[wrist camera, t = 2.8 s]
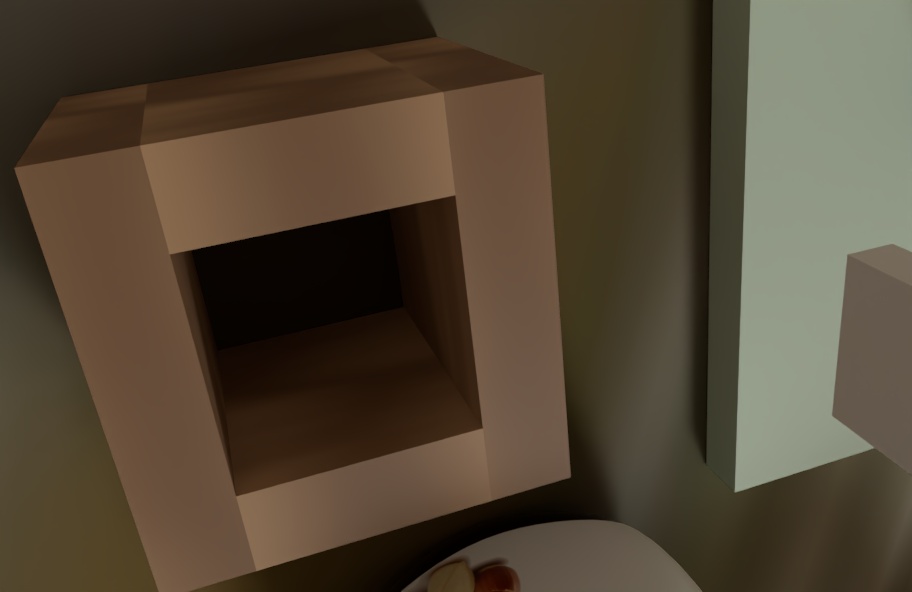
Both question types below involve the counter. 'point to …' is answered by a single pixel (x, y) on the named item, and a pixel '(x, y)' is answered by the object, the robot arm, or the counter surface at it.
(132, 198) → the walnut bead
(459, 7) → the counter surface
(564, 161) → the counter surface
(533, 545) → the spread jar
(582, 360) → the counter surface
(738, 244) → the pale green stand
